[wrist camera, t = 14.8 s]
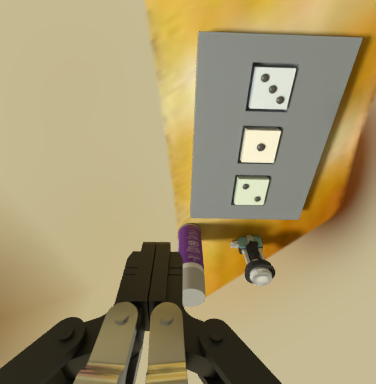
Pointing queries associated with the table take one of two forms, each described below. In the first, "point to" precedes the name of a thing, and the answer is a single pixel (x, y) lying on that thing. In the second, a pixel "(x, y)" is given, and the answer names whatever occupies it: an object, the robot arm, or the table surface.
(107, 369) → the robot arm
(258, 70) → the tile three pips
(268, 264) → the push button
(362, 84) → the table surface
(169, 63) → the table surface
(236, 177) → the tile two pips
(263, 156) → the tile one pip
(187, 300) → the container
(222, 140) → the button board
